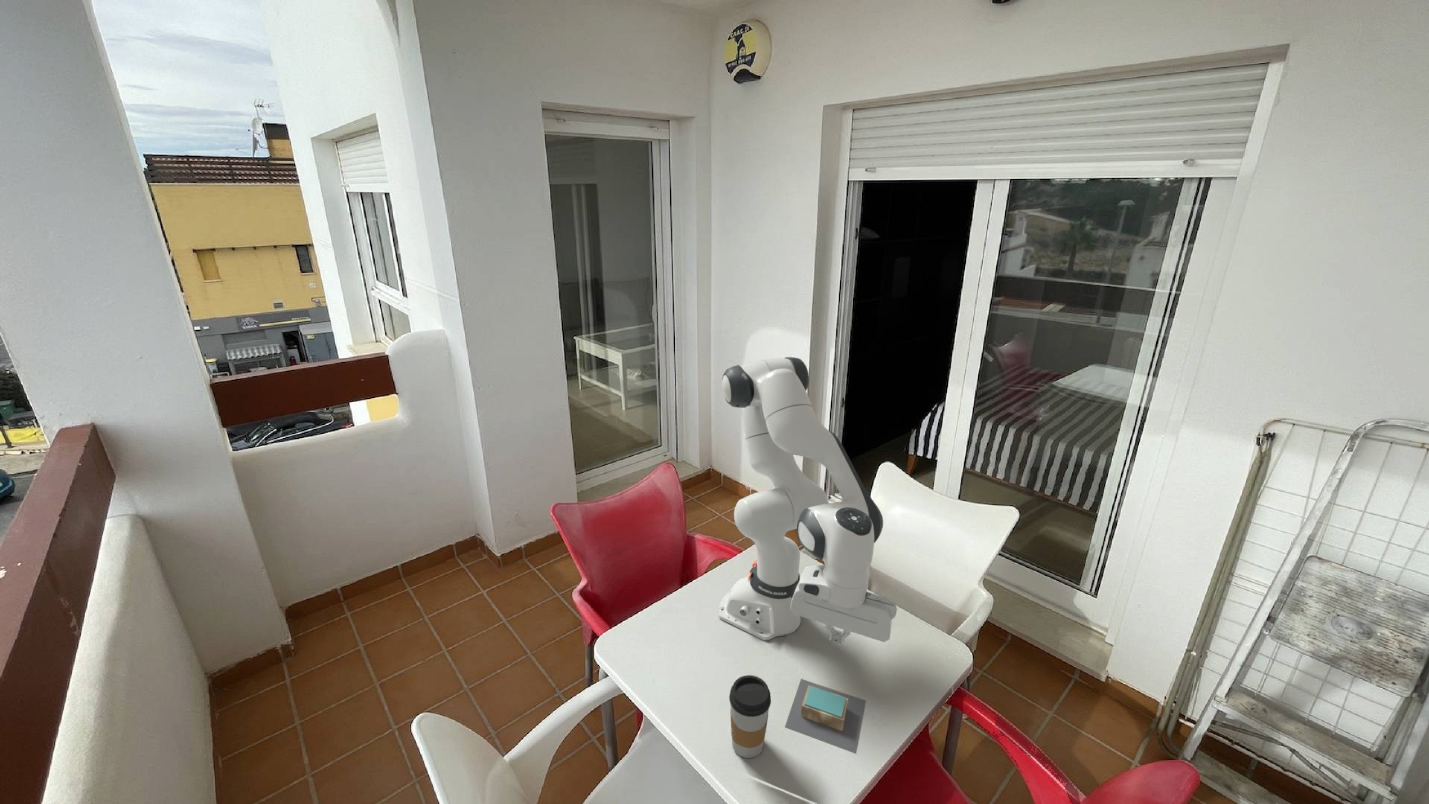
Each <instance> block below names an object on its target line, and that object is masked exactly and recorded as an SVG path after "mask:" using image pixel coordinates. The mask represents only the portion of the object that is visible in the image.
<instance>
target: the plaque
mask: <svg viewBox="0 0 1429 804" xmlns="http://www.w3.org/2000/svg"><path fill="white" fill-rule="evenodd" d="M847 705H848V698H845V697H842V696H839V695H836V694H833V693H830V692H827V691H825V690H822V689H819V688H816V687H813V686H810V685H808V687H807V691H806V694H805V697H804V700H803V703H802V708H801V716H802V717H805V718H807V719H810V720H813V721H816V722H818V723H821V724H824V725H827V726H830V727H832V728H835V729H838V730H841V731H842V729H843V725H844V720H845V716H846V711H847Z"/></svg>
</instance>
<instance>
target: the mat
mask: <svg viewBox="0 0 1429 804" xmlns="http://www.w3.org/2000/svg"><path fill="white" fill-rule="evenodd" d="M808 685H810V686H813V687H816V688H819V689H822V690H825V691H827V692H830V693H833V694H836V695H839V696H842V697H845V698H848V705H847V711H846V716H845V720H844V725H843V729H842V731H841V730H838V729H835V728H832V727H830V726H827V725H824V724H821V723H818V722H816V721H813V720H810V719H807V718H805V717H802V716H801V708H802V703H803V700H804V697H805V694H806V691H807V687H808ZM796 689H797V690H796V693H795V696H794V699H793V702H792V704H791V708H790V710H789V714H788V716H787V719H786V723H785V726H784V728H786V729H788V730H791V731H794V732H797V733H799V734H802V735H805V736H807V737H810V738H813V739H816V740H818V741H821V742H824V743H827V744H829V745H832V746H835V747H837V748H839V749H843V750H844V751H848V752H851V753H853V754H857V749H858V744H859V739H860V733H861V729H862V723H863V719H864V718H863V717H864V713H865V708H866V707H865V706H866V699H862V698H860V697H858V696H854V695H850V694H847V693H844V692H841V691H838V690H836V689H833V688H829V687H827V686H824V685H820V684H817V683H815V682H812V681H809V680H806V679H803V678H800V680H799V684H798V687H797V688H796Z"/></svg>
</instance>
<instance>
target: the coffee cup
mask: <svg viewBox="0 0 1429 804" xmlns="http://www.w3.org/2000/svg"><path fill="white" fill-rule="evenodd" d="M728 698H729V703H730V709H729V710H730V734H731V744H732V749H733V751H734V752H735V753H736V754H737V755H738V756H740V757H742V758H744V759H753V758H756V757H758V756H759V755H760V754H761V752H762V751H763V748H764V743H765V742H764V741H765V738H766V732H767V724H768V720H769V719H768V718H769V711H770V707H771V704H772V700H771V698H772V696H771V691H770V689H769V686H768V684H767V683H766V681H764V679H762V678H761V677H758V676H756V675H751V674H750V675H749V674H747V675H743V676H740V677H738V678H737V679H736V680H735V681H734V682H733V684H732V685H731V688H730V689H729V697H728Z"/></svg>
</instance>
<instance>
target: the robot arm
mask: <svg viewBox="0 0 1429 804" xmlns="http://www.w3.org/2000/svg"><path fill="white" fill-rule="evenodd" d="M721 379H722V380H721V381H722V382H721V390H722V394H723V397H724V398H725V401H726V403H727V404H728V405H730V406H731V407H733V408H737V409H738V408H740V409H742V410H741V411H742V412H741V414H742V415H741V416H742V428H743V434H744V439H745V444H746V449H747V454H748V460H749V464H750V466H751V468H752V469H753V470H754V471H755V472H756V473H758V474H760V475H763V476H765V477H767V478H769V480H771V482H772V484H773V486H774V488H773V489H772V488H771V489H767V490H762V491H758V492H754V493H752V494H749V495H747V496H745V497H743V498H741V499H738V501H737V502H736V505H735V507H734V510H733V518H734V524H735V526H736V528H737V529H738V530H739V532H740V533H741V534H742V535H743V536H744V537H746V538H748V539H751V541H753V543H754V544H755V547H756V557H757V558H756V559H755V560H753V563H752V564H751V566H752V567H751V569H750V570H749V574H748V576H745V577H740V579H738V580H737V581H736V582H735V583H734V585H732V587H731V589H730V590H729V591H727V592H726V594H725V595H724V596H723V598H722V599H721V601H720V603H719V607H718V612H717V613H718V618H719V619H720V620H722V621H724V622H726V623H728V624H730V625H731V626H734V627H736V628H738V629H740V630H742V631H745V632H746V633H748V634H750V635H753V636H755V637H756V638H758V639H760V640H763V641H769V640H772V639H773V638H775V637H781V636H786V635H790V634H792V633H794V632H795V631H796V630H797V629H798V628H799V627H800V626H801V622H802V618H806V619H809V620H812V621H815V622H818V623H822V624H824V625H825V626H824V628H825V629H826V631H827V633H828V635H829V637H828V641H830V642H834V643H837V644H840V645H844V641H845V639H846V638H848V637H849V636H850V635H851V633H855V634H857V635H860V636H863V637H865V638H866V637H867V638H869V639H872V640H873V639H874V640H876V641H880V642H883V643H885V642H887V641H889V640H890V638H891V633H892V624H893V619H895V617H896V615H897V611H898V607H897V605H896V603H894V602H893V601H892V600H891V598H889V597H885V596H880V595H878V594H875V593H872V592H868V587H869V579H870V572H869V568H870V566H871V564H872V561H873V556H874V547H875V543H876V542H877V541H878V539H879V538H880V536H881V534H882V531H883V528H884V518H883V515H882V512H881V510H880V508H879V507H878V506H877V503H875V501H874V500H873V499H872V497H871V496H870V494H869V493H868V491H867V490H866V488H865V486H864V484H863V482H862V480H861V477H860V476H859V474H858V472H857V470H856V469H855V466H854V465H853V462H852V461H851V459H850V457H849V454H847V452H846V450H845V447H844V446H843V444H842V442H841V441H840V439H839V438H838V436H837V435H836V434H835V433H834V432H832V431H831V430H829V429H828V428H826V427H825V426H824V424H823V423H822V422H821V421H820V420H819V418H818V416H817V414H816V412H815V411H814V407H813V405H812V402H811V400H810V397H809V395H808V393H807V390H808V388H809V386H810V375H809V370H808V368H807V365H806V364H805V362H804V361H803V360H802V359H801V358H798V357H794V356H793V357H792V356H786V357H784V358H769V359H768V358H767V359H762V360H758V361H754V362H749V363H745V364H742V365H740V364H737V365H733V366H730V367H729V368H727V369H725V371H724V372H723V375H722V378H721ZM794 456H798V457H804V458H807V459H810V460H813V461H815V462H818V463H820V464H821V465H823V467H824V468H826V469H827V471H828V472H829V475H830V477H831V479H832V481H833V483H834V486H836V490H837V491H838V493H839V495H840V497H841V499H842V500H841V501H838V502H837V501H836V502H832V503H829V499H828V495H827V494H826V492H825V491H824V489H823V488H822V487H821V486H820V485H818V484H817V483H815V482H813V481H812V480H810V479H809V478H808V477H807V476H806V475H805V474H804V473H803V471H802V470H801V469H800V467H799V466H798V464H797V462H796V459H795V457H794ZM794 530H796V535H797V539H798V542H799V543H800V545H801V547H802V548H803V549H804V550H806V551H808V552H809V553H810V554H811V555H813V556H814V557H815V558H816V559H818V560H820V561H823V562H824V564H823V565H814V564H813V565H810V564H809V565H807V566H805V568H804V569H803V571H802V573H801V575H800V572H799V571H800V560H801V551H800V549H799V546H798V545H797V543H796V542H795V541H794V540H792V539H791V538H789V537H787V536H785V535H786V533H788V532H789V531H794ZM835 628H837V629H841V630H842V631H840V630H836V629H835Z"/></svg>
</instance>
